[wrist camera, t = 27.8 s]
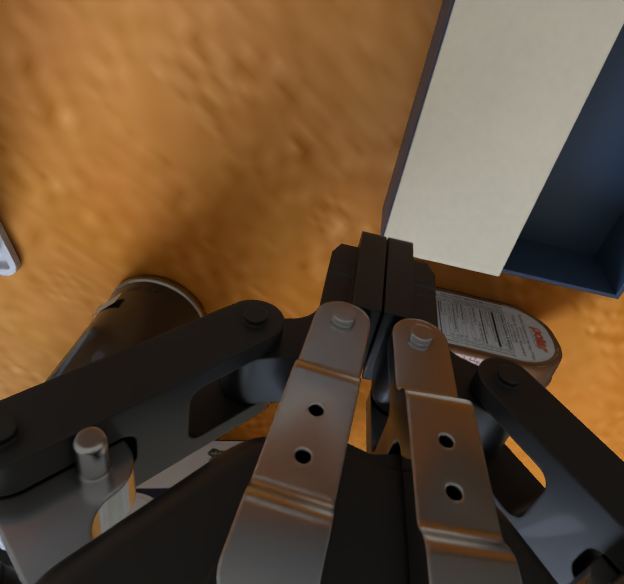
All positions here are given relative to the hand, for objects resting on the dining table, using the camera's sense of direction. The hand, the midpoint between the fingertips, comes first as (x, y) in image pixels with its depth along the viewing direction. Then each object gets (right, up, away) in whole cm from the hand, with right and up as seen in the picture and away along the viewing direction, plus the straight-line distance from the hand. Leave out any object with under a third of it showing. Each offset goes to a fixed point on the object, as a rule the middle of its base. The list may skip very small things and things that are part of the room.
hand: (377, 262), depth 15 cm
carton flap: (+8, +8, +14) cm, 18 cm away
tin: (+10, -2, +28) cm, 30 cm away
